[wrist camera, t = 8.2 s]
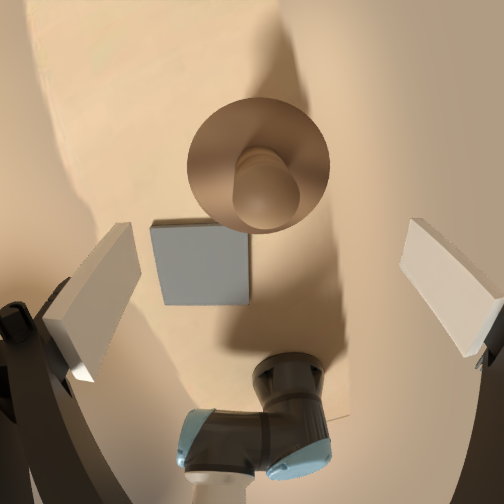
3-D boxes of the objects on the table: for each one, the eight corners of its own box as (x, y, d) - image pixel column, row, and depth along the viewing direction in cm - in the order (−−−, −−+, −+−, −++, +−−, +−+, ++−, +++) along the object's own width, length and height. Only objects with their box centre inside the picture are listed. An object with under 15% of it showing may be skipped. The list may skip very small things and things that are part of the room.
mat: (248, 300, 48) (248, 304, 47) (166, 301, 48) (164, 305, 47) (247, 222, 41) (247, 225, 41) (151, 225, 41) (149, 228, 40)
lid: (321, 227, 28) (349, 278, 20) (195, 230, 28) (179, 284, 20) (328, 100, 22) (369, 103, 14) (185, 101, 22) (156, 104, 14)
